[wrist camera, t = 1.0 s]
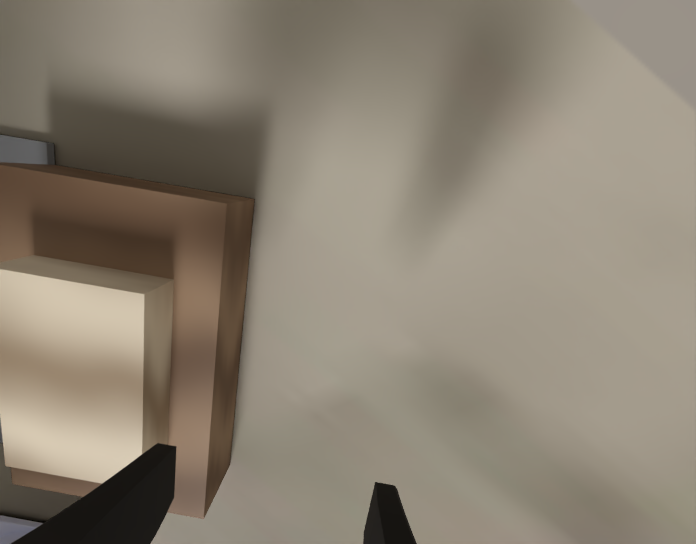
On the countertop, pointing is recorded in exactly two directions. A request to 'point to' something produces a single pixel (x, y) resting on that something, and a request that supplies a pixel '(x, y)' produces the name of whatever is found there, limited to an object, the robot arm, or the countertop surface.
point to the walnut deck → (156, 260)
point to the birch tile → (82, 366)
